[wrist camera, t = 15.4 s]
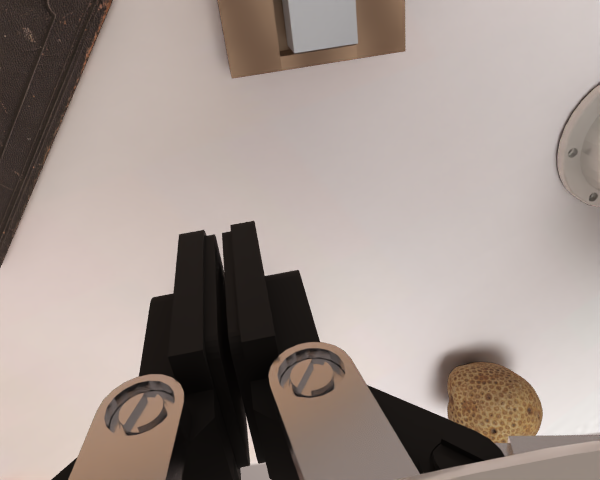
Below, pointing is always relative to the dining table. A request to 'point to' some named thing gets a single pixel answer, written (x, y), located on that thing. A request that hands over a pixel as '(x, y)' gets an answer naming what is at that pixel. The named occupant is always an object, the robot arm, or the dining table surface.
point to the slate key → (319, 24)
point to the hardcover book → (37, 89)
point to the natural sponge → (493, 401)
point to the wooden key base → (278, 56)
